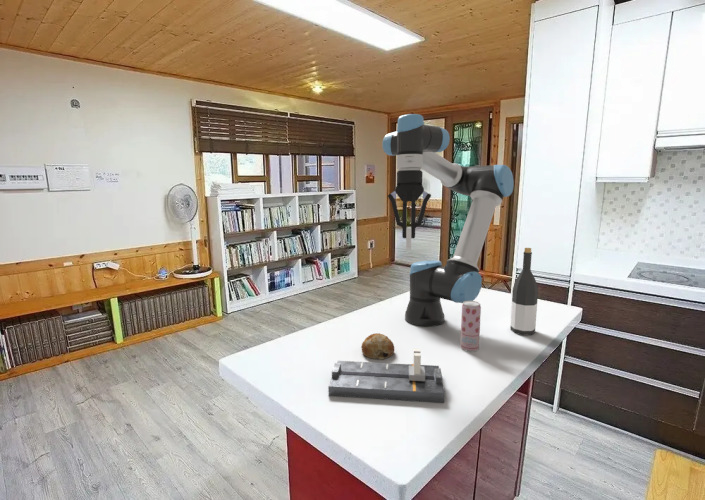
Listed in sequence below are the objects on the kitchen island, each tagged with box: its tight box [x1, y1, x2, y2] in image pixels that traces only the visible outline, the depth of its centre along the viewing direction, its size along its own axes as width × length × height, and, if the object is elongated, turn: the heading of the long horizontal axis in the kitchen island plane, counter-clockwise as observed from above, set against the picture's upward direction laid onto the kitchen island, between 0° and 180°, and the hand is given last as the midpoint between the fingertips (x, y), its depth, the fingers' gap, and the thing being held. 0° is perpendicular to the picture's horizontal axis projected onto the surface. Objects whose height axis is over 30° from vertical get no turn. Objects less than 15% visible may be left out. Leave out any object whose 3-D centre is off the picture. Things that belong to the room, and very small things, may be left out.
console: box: [327, 360, 445, 404], centre depth 97 cm, size 28×14×4 cm, turn 82°
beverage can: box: [459, 300, 482, 353], centre depth 118 cm, size 6×6×15 cm
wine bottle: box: [509, 247, 539, 336], centre depth 130 cm, size 8×8×30 cm
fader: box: [409, 348, 425, 381], centre depth 95 cm, size 4×5×7 cm
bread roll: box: [360, 332, 395, 361], centre depth 116 cm, size 10×10×8 cm
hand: (408, 248), depth 113 cm, fingers closed
